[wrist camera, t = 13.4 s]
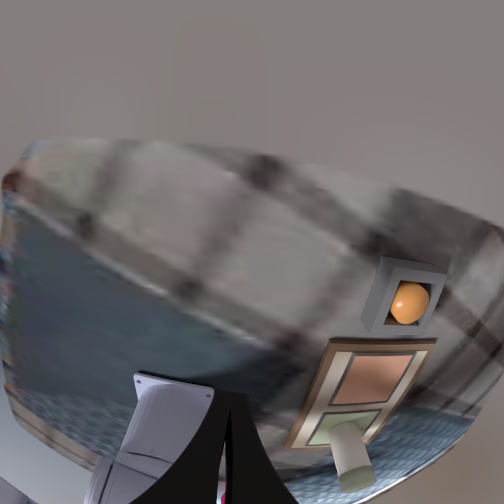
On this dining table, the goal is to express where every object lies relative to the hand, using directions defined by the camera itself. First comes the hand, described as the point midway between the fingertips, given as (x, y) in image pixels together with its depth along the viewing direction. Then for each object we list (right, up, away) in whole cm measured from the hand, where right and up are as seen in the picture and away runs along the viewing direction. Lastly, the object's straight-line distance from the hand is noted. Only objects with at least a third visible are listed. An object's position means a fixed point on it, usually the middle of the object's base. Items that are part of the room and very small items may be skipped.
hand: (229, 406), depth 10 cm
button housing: (+13, +3, +10) cm, 17 cm away
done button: (+13, +3, +9) cm, 16 cm away
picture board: (+12, -10, +14) cm, 21 cm away
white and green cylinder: (+11, -14, +15) cm, 23 cm away
